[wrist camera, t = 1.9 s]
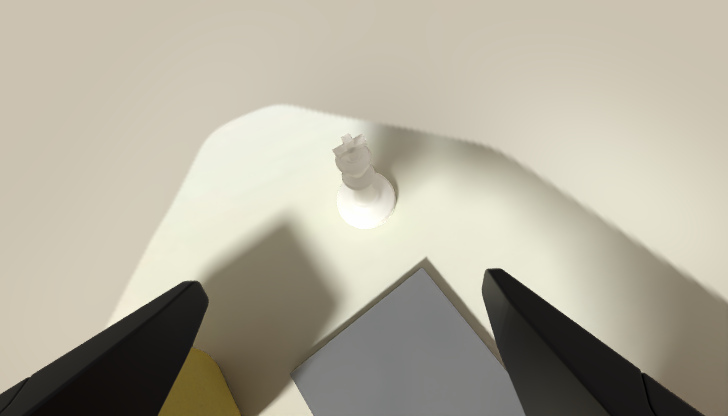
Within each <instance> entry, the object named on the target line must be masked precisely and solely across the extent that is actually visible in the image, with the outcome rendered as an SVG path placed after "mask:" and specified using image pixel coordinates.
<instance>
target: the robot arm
mask: <svg viewBox="0 0 728 416" xmlns="http://www.w3.org/2000/svg"><path fill="white" fill-rule="evenodd" d="M482 296H483V300H484V303H485V306H486V310H487V313H488V317H489V320H490V324H491V327H492V330H493V334H494V337H495V340H496V344H497V347H498V349H499V352H500V355H501V357H502V360H503V362H504V365H505V367H506V369H507V372H508V374H509V377H510V379H511V382H512V384H513V386H514V389H515V391H516V394H517V396H518V399H519V401H520V403H521V406H522V408H523V411H524V413H525V415H526V416H704V415H703V414H702V413H700V412H699V411H697V410H696V409H695V408H693V407H692V406H690V405H689V404H687V403H686V402H685V401H683V400H682V399H680V398H679V397H678V396H676V395H675V394H673V393H672V392H671V391H669V390H668V389H666V388H665V387H664V386H662V385H661V384H659V383H658V382H657V381H655V380H654V379H653V378H651V377H650V376H648V375H647V374H646V373H641V371H640V369H639V368H637V367H636V366H634V365H633V364H632V363H630V362H629V361H628V360H626V359H625V358H624V357H622V356H621V355H619V354H618V353H617V352H615V351H614V350H613V349H611V348H610V347H608V346H607V345H606V344H604V343H603V342H602V341H600V340H599V339H597V338H596V337H595V336H593V335H592V334H591V333H589V332H588V331H586V330H585V329H584V328H582V327H581V326H580V325H578V324H577V323H575V322H574V321H573V320H571V319H570V318H569V317H567V316H566V315H564V314H563V313H562V312H560V311H559V310H558V309H556V308H555V307H553V306H552V305H551V304H549V303H548V302H547V301H545V300H544V299H542V298H541V297H540V296H538V295H537V294H536V293H534V292H533V291H532V290H530V289H529V288H527V287H526V286H525V285H523V284H522V283H521V282H519V281H518V280H516V279H515V278H514V277H512V276H511V275H510V274H508V273H507V272H505V271H504V270H502V269H500V268H493V269H487V270H486V271H485V274H484V279H483V285H482ZM208 303H209V299H208V296H207V294H206V293H205V291H204V289H203V287H202V285H201V284H200V282H198V281H184V282H182V283H180V284H178V285H177V286H175V287H174V288H172V289H170V290H169V291H167V292H165V293H164V294H162V295H161V296H159V297H157V298H156V299H154V300H152V301H151V302H149V303H148V304H146V305H144V306H143V307H141V308H139V309H138V310H136V311H135V312H133V313H131V314H130V315H128V316H127V317H125V318H123V319H122V320H120V321H118V322H117V323H115V324H114V325H112V326H110V327H109V328H107V329H105V330H104V331H102V332H101V333H99V334H97V335H96V336H94V337H92V338H91V339H89V340H88V341H86V342H84V343H83V344H81V345H80V346H78V347H76V348H75V349H73V350H72V351H70V352H68V353H67V354H65V355H63V356H62V357H60V358H58V359H57V360H55V361H54V362H52V363H50V364H49V365H47V366H45V367H44V368H42V369H41V370H39V371H37V372H36V373H34V374H33V375H32V376H31V377H28V378H26V379H24V380H23V381H21V382H19V383H18V384H16V385H15V386H13V387H12V388H10V389H8V390H7V391H5V392H3V393H2V394H0V416H158V415H159V413H160V411H161V409H162V407H163V405H164V403H165V401H166V399H167V397H168V395H169V393H170V391H171V389H172V387H173V385H174V383H175V381H176V379H177V377H178V375H179V373H180V371H181V369H182V367H183V365H184V363H185V361H186V359H187V356H188V354H189V352H190V350H191V347H192V345H193V343H194V340H195V337H196V335H197V332H198V330H199V327H200V325H201V322H202V320H203V317H204V315H205V312H206V309H207V307H208Z"/></svg>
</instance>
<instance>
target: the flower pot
mask: <svg viewBox="0 0 728 416" xmlns="http://www.w3.org/2000/svg"><path fill="white" fill-rule="evenodd" d="M158 416H241V414H240V412H239V409H238V407H237V405H236V403H235V401H234V399H233V397H232V395H231V392H230V390H229V388H228V386H227V384H226V381H225V379H224V377H223V375H222V372H221V370H220V368H219V366H218V365H217V363H216V362H215V361H214V360H213V359H212V358H211V357H210V356H209V355H208V354H206V353H205V352H203V351H201V350H199V349H196V348H191V350H190V352H189V354H188V356H187V359H186V361H185V363H184V365H183V367H182V369H181V371H180V373H179V375H178V377H177V379H176V381H175V383H174V385H173V387H172V389H171V391H170V393H169V395H168V397H167V399H166V401H165V403H164V405H163V407H162V409H161V411H160V413H159V415H158Z"/></svg>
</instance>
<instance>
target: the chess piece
mask: <svg viewBox="0 0 728 416" xmlns="http://www.w3.org/2000/svg"><path fill="white" fill-rule="evenodd" d="M341 138H342V141H343V144H342V145H340V146H339V147H337V148H335V149H333V152H334V154H335V162H336V165H337V167H338V169H339V170H340V171H341V172H342V180H343V183H342V184H341V186H340V188H339V190H338V194H337V205H338V210H339V212H340V214H341V216H342V217H343V219H344V220H345V221H346V222H347V223H349V224H350V225H352V226H354V227H357V228H361V229H370V228H375V227H378V226H380V225H381V224H383V223H384V222H386V221H387V220H388V219H389V218H390V216H391V215H392V213H393V211H394V208H395V204H396V196H395V192H394V189H393V187H392V185H391V183H390V182H389V181H388V180H387V179H386V178H385V177H384V176H383V175H381V174H379V173H376V172H375V170H374V168H373V166H372V165H371V164H370V163H371V152H370V150H369V149H368V147H367V146H366V145H367V143H366V140H365V138H364V137H363V135H362V134H361V135H359V136H357V137H355V138H354V139H352V137H351V135H350V134H349V133H348V134H346V135H345V136H343V137H341Z"/></svg>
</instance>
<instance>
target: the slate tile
mask: <svg viewBox="0 0 728 416" xmlns="http://www.w3.org/2000/svg"><path fill="white" fill-rule="evenodd" d="M290 375H291V377H292V379H293V380H294V382H295V384H296V386H297V387H298V389H299V391H300V393H301V394H302V396H303V398H304V400H305V401H306V403H307V405H308V407H309V408H310V410H311V412H312V414H313V415H314V416H526V415H525V413H524V411H523V408H522V406H521V403H520V401H519V399H518V396H517V394H516V391H515V389H514V386H513V384H512V382H511V379H510V377H509V374H508V372H507V371H506V370H505V369H504V367H503V366H502V365H501V364H500V362H499V361H498V360H497V359H496V357H495V356H494V355H493V354H492V353H491V351H490V350H489V349H488V348H487V346H486V345H485V344H484V343H483V341H482V340H481V339H480V338H479V337H478V335H477V334H476V333H475V332H474V330H473V329H472V328H471V327H470V325H469V324H468V323H467V322H466V321H465V319H464V318H463V317H462V316H461V314H460V313H459V312H458V311H457V309H456V308H455V307H454V306H453V305H452V303H451V302H450V301H449V300H448V298H447V297H446V296H445V295H444V293H443V292H442V291H441V290H440V289H439V287H438V286H437V285H436V284H435V282H434V281H433V280H432V279H431V277H430V276H429V275H428V274H427V273H426V271H425V270H424V269H423V268H420V269H419V270H418V271H417V272H415V273H414V274H413V275H412V276H410V277H409V278H408V279H407V280H405V281H404V282H403V283H402V284H400V285H399V286H398V287H397V288H395V289H394V290H393V291H392V292H390V293H389V294H388V295H387V296H385V297H384V298H383V299H382V300H380V301H379V302H378V303H377V304H375V305H374V306H373V307H372V308H370V309H369V310H368V311H367V312H365V313H364V314H363V315H362V316H361V317H359V318H358V319H357V320H356V321H354V322H353V323H352V324H351V325H349V326H348V327H347V328H346V329H344V330H343V331H342V332H341V333H339V334H338V335H337V336H336V337H334V338H333V339H332V340H331V341H329V342H328V343H327V344H326V345H324V346H323V347H322V348H321V349H319V350H318V351H317V352H316V353H314V354H313V355H312V356H311V357H309V358H308V359H307V360H306V361H304V362H303V363H302V364H301V365H300V366H298V367H297V368H296V369H295V370H293V371H292V372H291V373H290Z"/></svg>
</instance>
